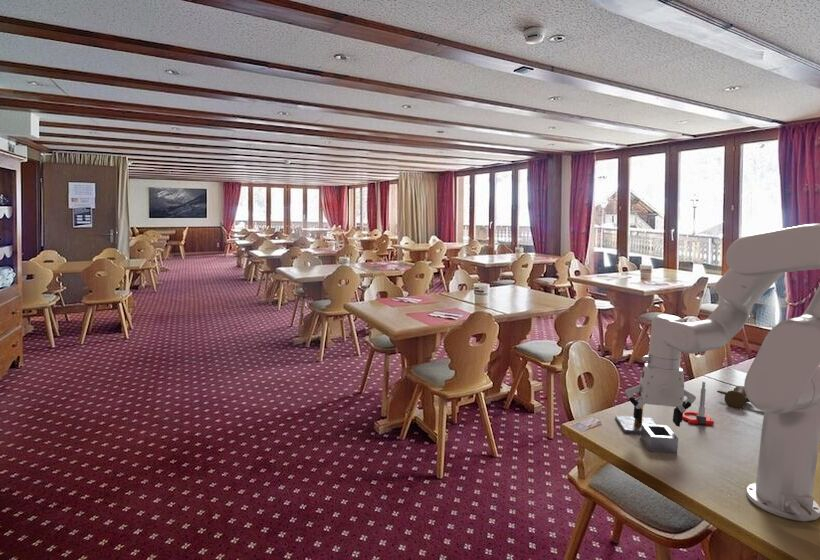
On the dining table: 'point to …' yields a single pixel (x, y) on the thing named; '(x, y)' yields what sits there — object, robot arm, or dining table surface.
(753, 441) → the dining table surface
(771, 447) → the robot arm
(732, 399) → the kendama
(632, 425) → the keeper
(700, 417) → the tow hook
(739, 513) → the dining table surface
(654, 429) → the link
